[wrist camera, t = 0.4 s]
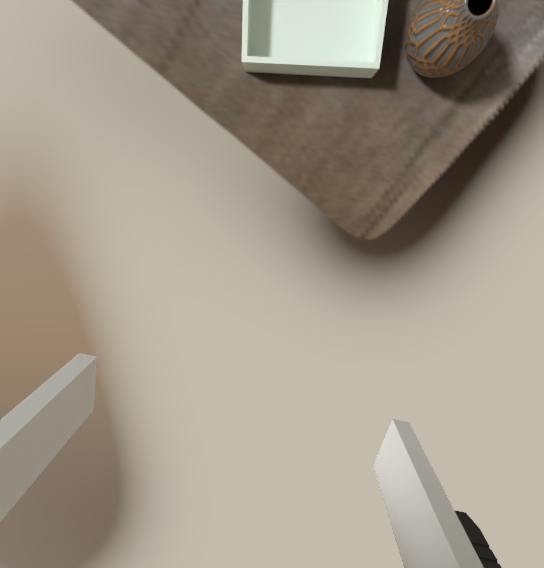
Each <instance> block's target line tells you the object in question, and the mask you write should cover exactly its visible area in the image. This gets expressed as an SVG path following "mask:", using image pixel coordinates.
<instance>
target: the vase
mask: <svg viewBox="0 0 544 568" xmlns="http://www.w3.org/2000/svg"><path fill="white" fill-rule="evenodd" d="M497 18H498V0H422V1H421V3H420V4H419V5H418V7H417V8H416V10H415V12H414V13H413V15H412V17H411V19H410V21H409V24H408V27H407V30H406V35H405V54H406V57H407V60H408V62H409V64H410V66H411V67H412V68H413V69H414V70H415V71H416V72H417V73H418V74H420V75H422V76H425V77H430V78H441V77H446V76H449V75H452V74H454V73H456V72H458V71H460V70H461V69H463V68H465V67H466V66H467V65H469V64H470V63H471V62H472V61H473V60H475V58H476V57H477V56H478V55H479V54H480V53H481V52H482V50H483V49H484V48H485V46H486V45H487V43H488V42H489V40H490V38H491V36H492V34H493V32H494V29H495V26H496V23H497Z"/></svg>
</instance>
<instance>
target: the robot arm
mask: <svg viewBox="0 0 544 568" xmlns="http://www.w3.org/2000/svg"><path fill="white" fill-rule="evenodd" d="M96 366H97V357H95V356H91V355H85V354H81V353H79V354H78V355H77V356H75V357H74V358H73V359H72V360H71V361H69V362H68V363H67V364H66V365H65V366H64V367H62V368H61V369H60V370H59V371H58V372H57V373H55V374H54V375H53V376H52V377H51V378H49V379H48V380H47V381H46V382H45V383H43V384H42V385H41V386H40V387H39V388H38V389H36V390H35V391H34V392H33V393H32V394H30V395H29V396H28V397H27V398H26V399H25V400H23V401H22V402H21V403H20V404H19V405H17V406H16V407H15V408H14V409H13V410H11V411H10V412H9V413H8V414H7V415H5V416H4V417H3V418H2V419H0V521H1V520H2V519H3V518H4V517H5V515H6V514H7V513H8V512H9V511H10V509H11V508H12V507H13V506H14V505H15V503H16V502H17V501H18V500H19V498H20V497H21V496H22V495H23V494H24V492H25V491H26V490H27V489H28V488H29V487H30V485H31V484H32V483H33V482H34V480H35V479H36V478H37V477H38V475H40V473H41V472H42V471H43V470H44V468H45V467H46V466H47V465H48V464H49V462H50V461H51V460H52V459H53V458H54V456H55V455H56V454H57V453H58V452H59V450H60V449H61V448H62V447H63V446H64V444H65V443H66V442H67V441H68V439H69V438H70V437H71V436H72V434H73V433H74V432H75V431H76V430H77V429H78V427H79V426H80V425H81V424H82V423H83V422H84V420H85V419H86V418H87V417H88V415H89V414H90V413H91V412H92V411H93V410H94V398H95V397H94V396H95V382H96ZM373 468H374V471H375V474H376V477H377V480H378V484H379V487H380V490H381V493H382V496H383V500H384V503H385V506H386V510H387V513H388V516H389V519H390V522H391V526H392V529H393V532H394V535H395V539H396V542H397V545H398V548H399V551H400V555H401V558H402V561H403V564H404V568H501V566H500V565H499V564H498V563H497V559H496V557H495V556H494V554H493V552H492V550H490V549H489V545H488V543H487V541H486V539H485V538H484V536H483V534H482V532H481V530H480V529H479V528H478V526H477V525H476V524H475V523H474V522H473V521H472V519H470V517H469V516H468V515H467V514H466V513H464V512H459V511H454V509H453V507H452V505H451V504H450V501H449V500H448V497H447V495H446V493H445V491H444V489H443V487H442V485H441V484H440V482H439V480H438V478H437V476H436V474H435V472H434V470H433V468H432V466H431V464H430V462H429V460H428V458H427V456H426V455H425V453H424V451H423V449H422V447H421V445H420V443H419V441H418V439H417V437H416V435H415V433H414V431H413V429H412V427H411V425H410V423H408V422H403V421H399V420H394V419H393V420H392V422H391V424H390V427H389V429H388V432H387V434H386V436H385V439H384V442H383V444H382V446H381V449H380V451H379V454H378V456H377V459H376V461H375V463H374V466H373Z"/></svg>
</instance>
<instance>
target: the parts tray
mask: <svg viewBox="0 0 544 568" xmlns="http://www.w3.org/2000/svg"><path fill="white" fill-rule="evenodd" d="M387 7H388V0H243V23H242V64H243V67H244V70H245V72H254V73H275V74H295V75H315V76H335V77H355V78H372V77H373V76H374V74H375V73H376V72H377V71H378V70H379V68H380V60H381V53H382V45H383V37H384V30H385V22H386V15H387Z"/></svg>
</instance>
